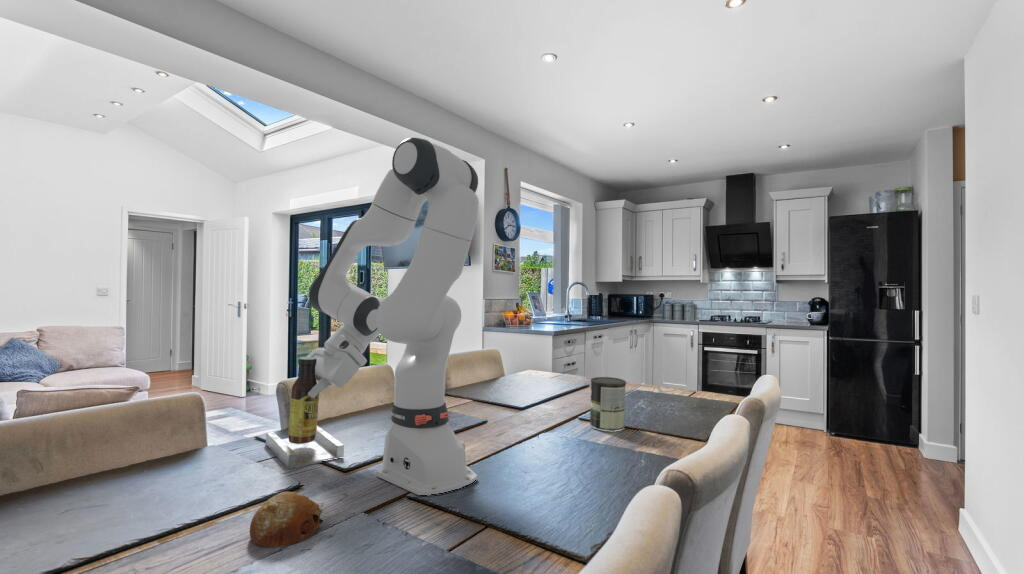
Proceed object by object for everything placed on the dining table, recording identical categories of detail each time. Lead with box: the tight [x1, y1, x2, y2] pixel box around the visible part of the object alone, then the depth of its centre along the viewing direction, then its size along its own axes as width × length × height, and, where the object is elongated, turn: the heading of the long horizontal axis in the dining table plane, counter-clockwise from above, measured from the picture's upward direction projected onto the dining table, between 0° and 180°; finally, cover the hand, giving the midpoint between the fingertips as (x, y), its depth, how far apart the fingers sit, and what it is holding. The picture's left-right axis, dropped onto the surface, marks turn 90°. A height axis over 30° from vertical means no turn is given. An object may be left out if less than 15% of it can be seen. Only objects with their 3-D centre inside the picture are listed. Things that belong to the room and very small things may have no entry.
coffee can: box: [589, 376, 627, 431], centre depth 142 cm, size 10×10×14 cm
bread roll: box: [249, 491, 324, 548], centre depth 77 cm, size 10×10×8 cm
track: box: [265, 425, 345, 470], centre depth 114 cm, size 20×12×3 cm, turn 40°
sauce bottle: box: [287, 356, 320, 444], centre depth 114 cm, size 6×6×20 cm
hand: (302, 393), depth 114 cm, fingers closed on sauce bottle, 6 cm apart
